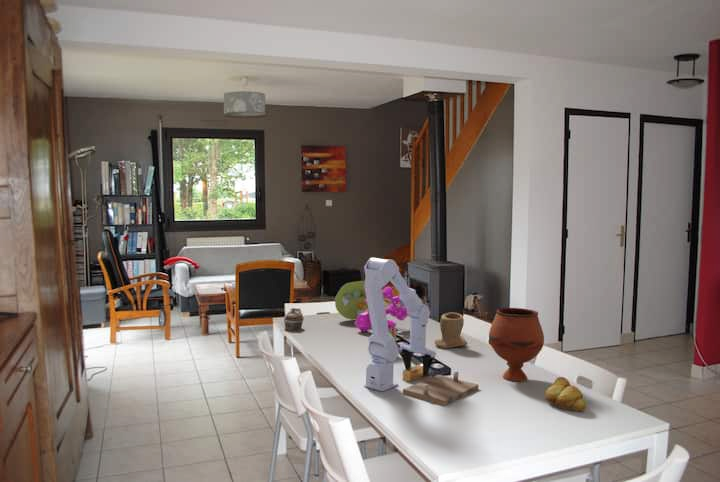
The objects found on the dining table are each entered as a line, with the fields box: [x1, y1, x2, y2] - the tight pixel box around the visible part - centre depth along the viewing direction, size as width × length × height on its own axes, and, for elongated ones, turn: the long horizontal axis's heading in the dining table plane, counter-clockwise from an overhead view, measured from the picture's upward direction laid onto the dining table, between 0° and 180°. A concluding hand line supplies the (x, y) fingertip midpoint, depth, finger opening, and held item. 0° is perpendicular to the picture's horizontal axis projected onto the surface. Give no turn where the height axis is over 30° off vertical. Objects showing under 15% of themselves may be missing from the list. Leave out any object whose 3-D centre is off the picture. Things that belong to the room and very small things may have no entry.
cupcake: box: [283, 307, 305, 332], centre depth 275 cm, size 10×10×10 cm
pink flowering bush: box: [334, 280, 410, 333], centre depth 284 cm, size 30×28×35 cm
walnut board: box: [402, 370, 479, 407], centre depth 188 cm, size 22×16×4 cm
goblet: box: [488, 307, 545, 383], centre depth 203 cm, size 19×19×25 cm
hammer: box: [402, 362, 431, 383], centre depth 203 cm, size 13×4×4 cm, turn 140°
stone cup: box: [433, 312, 468, 349], centre depth 248 cm, size 15×12×15 cm
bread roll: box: [544, 376, 587, 412], centre depth 176 cm, size 13×10×8 cm
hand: (416, 372), depth 203 cm, fingers open, 7 cm apart
